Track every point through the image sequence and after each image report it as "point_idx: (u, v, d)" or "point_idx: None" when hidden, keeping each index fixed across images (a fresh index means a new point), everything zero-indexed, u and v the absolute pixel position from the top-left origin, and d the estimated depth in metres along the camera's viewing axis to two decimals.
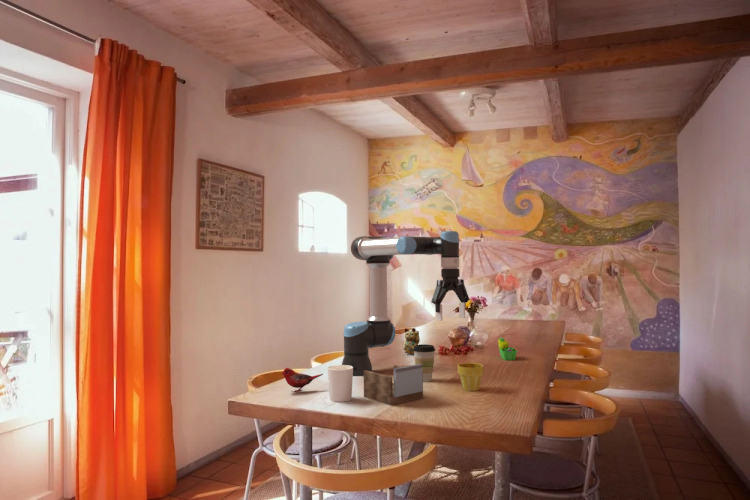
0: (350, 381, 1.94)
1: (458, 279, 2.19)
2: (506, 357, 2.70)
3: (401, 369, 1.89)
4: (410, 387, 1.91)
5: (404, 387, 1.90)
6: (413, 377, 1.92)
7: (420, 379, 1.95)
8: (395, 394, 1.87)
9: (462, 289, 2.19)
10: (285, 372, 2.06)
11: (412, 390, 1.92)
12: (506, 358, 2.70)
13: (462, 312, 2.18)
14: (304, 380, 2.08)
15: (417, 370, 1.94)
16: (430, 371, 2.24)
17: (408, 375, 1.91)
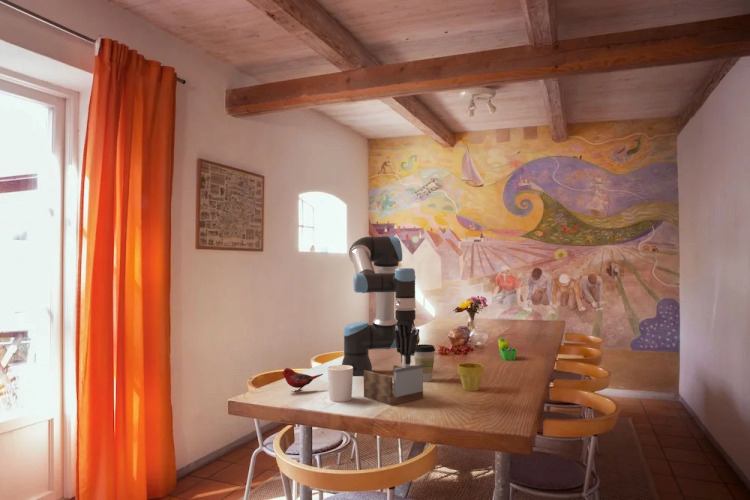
0: (350, 381, 1.94)
1: (418, 329, 1.89)
2: (506, 357, 2.70)
3: (401, 369, 1.89)
4: (410, 387, 1.91)
5: (404, 387, 1.89)
6: (413, 377, 1.92)
7: (420, 379, 1.95)
8: (395, 394, 1.87)
9: None
10: (285, 372, 2.06)
11: (412, 390, 1.92)
12: (506, 358, 2.70)
13: None
14: (304, 380, 2.08)
15: (417, 370, 1.94)
16: (430, 371, 2.24)
17: (408, 375, 1.91)
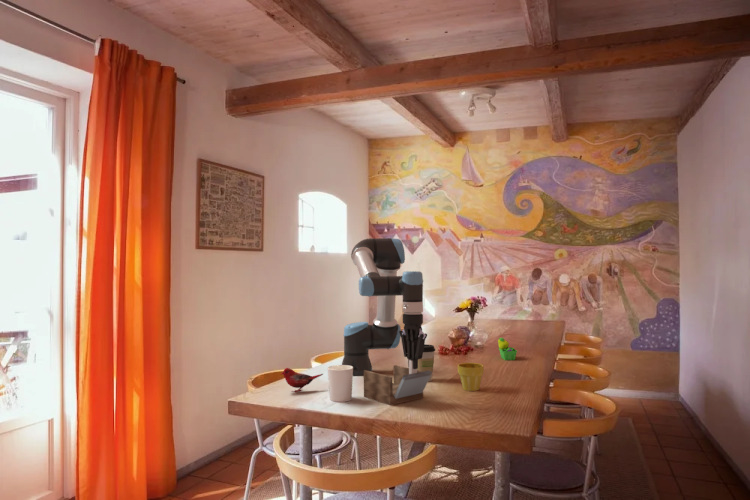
0: (350, 381, 1.94)
1: (425, 333, 1.86)
2: (506, 357, 2.70)
3: (410, 377, 1.85)
4: (412, 390, 1.90)
5: (406, 391, 1.88)
6: (418, 383, 1.90)
7: (424, 384, 1.93)
8: (396, 396, 1.87)
9: None
10: (285, 372, 2.06)
11: (413, 392, 1.92)
12: (506, 358, 2.70)
13: None
14: (304, 380, 2.08)
15: (425, 377, 1.90)
16: None
17: (414, 381, 1.88)
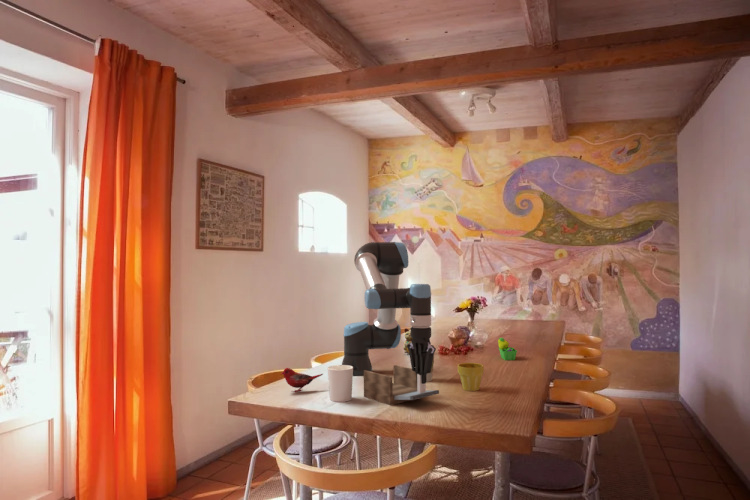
0: (350, 381, 1.94)
1: (434, 347, 1.82)
2: (506, 357, 2.70)
3: (417, 398, 1.82)
4: None
5: None
6: None
7: None
8: (395, 398, 1.87)
9: None
10: (285, 372, 2.06)
11: None
12: (506, 358, 2.70)
13: None
14: (304, 380, 2.08)
15: None
16: None
17: None
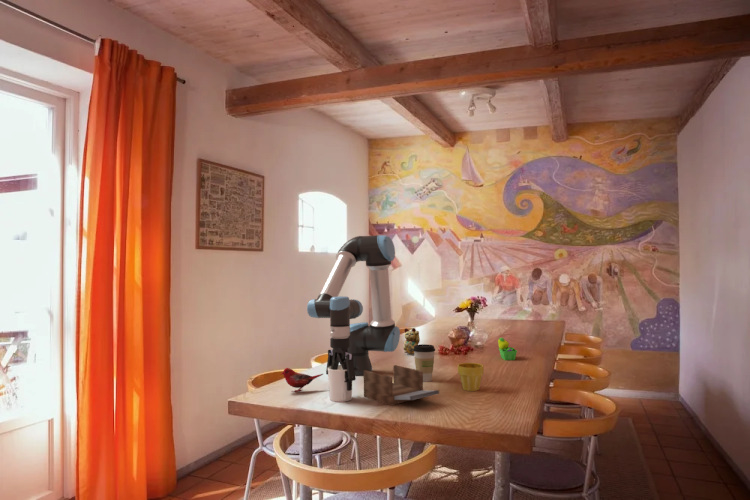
0: None
1: (351, 353, 1.93)
2: (506, 357, 2.70)
3: (417, 398, 1.82)
4: None
5: None
6: None
7: None
8: (395, 398, 1.87)
9: None
10: (285, 372, 2.06)
11: None
12: (506, 358, 2.70)
13: None
14: (304, 380, 2.08)
15: None
16: (430, 371, 2.24)
17: None
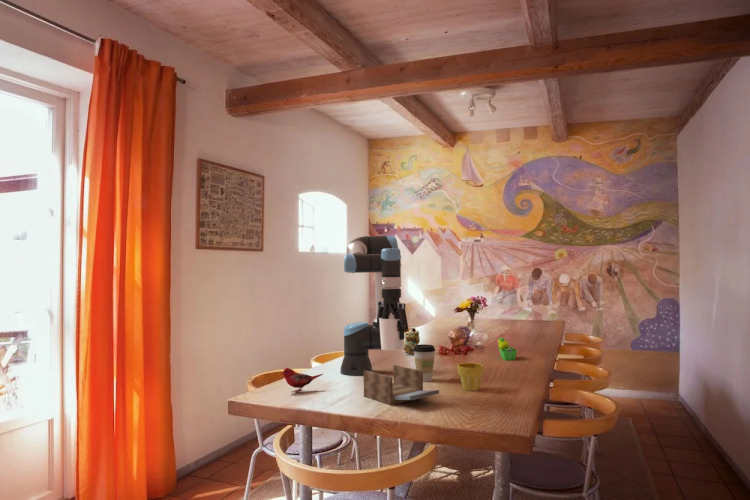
0: None
1: (403, 303, 1.95)
2: (506, 357, 2.70)
3: (417, 398, 1.82)
4: None
5: None
6: None
7: None
8: (395, 398, 1.87)
9: None
10: (285, 372, 2.06)
11: None
12: (506, 358, 2.70)
13: None
14: (304, 380, 2.08)
15: None
16: (430, 371, 2.24)
17: None
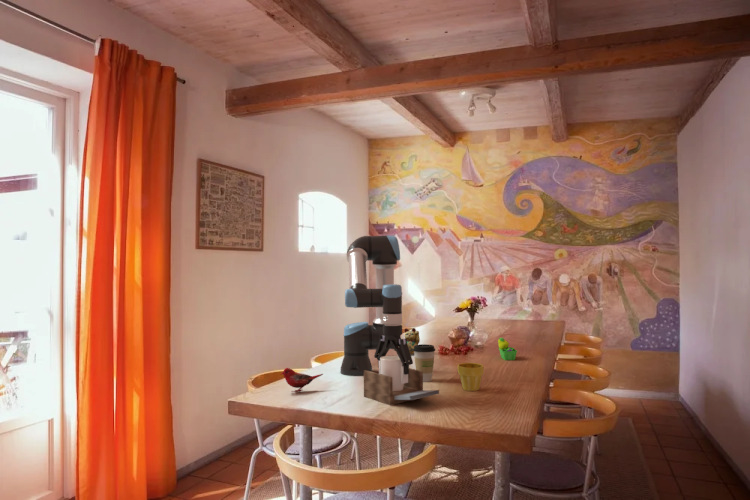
0: None
1: None
2: (506, 357, 2.70)
3: (417, 398, 1.82)
4: None
5: None
6: None
7: None
8: (395, 398, 1.87)
9: None
10: (285, 372, 2.06)
11: None
12: (506, 358, 2.70)
13: None
14: (304, 380, 2.08)
15: None
16: (430, 371, 2.24)
17: None
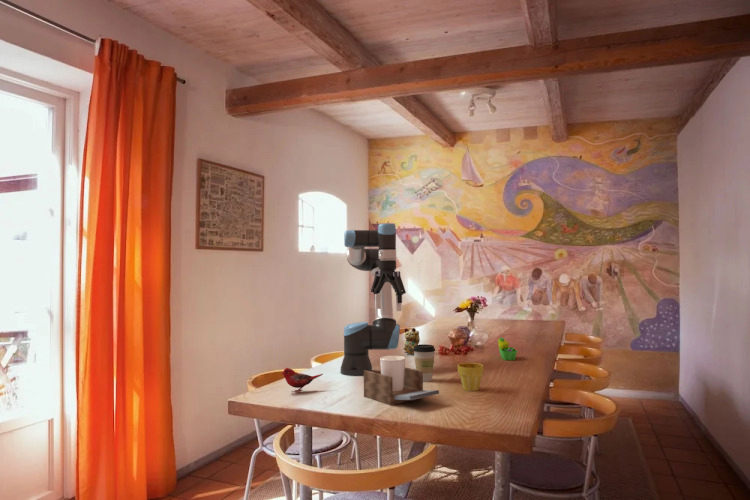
0: (402, 371, 1.97)
1: None
2: (506, 357, 2.70)
3: (417, 398, 1.82)
4: None
5: None
6: None
7: None
8: (395, 398, 1.87)
9: None
10: (285, 372, 2.06)
11: None
12: (506, 358, 2.70)
13: None
14: (304, 380, 2.08)
15: None
16: (430, 371, 2.24)
17: None
